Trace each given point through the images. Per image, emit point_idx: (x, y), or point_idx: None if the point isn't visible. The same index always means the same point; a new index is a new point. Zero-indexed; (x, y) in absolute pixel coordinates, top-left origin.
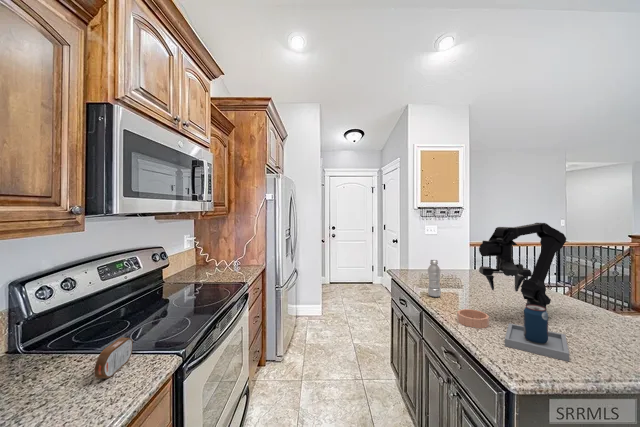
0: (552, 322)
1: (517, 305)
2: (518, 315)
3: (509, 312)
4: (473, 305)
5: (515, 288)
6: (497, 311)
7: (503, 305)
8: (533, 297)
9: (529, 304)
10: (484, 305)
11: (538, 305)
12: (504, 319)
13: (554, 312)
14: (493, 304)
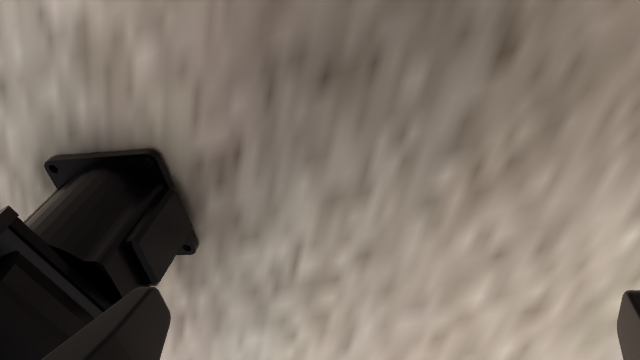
0: (17, 73)
1: (236, 353)
2: (256, 166)
3: (318, 219)
4: (597, 319)
5: (144, 354)
6: (418, 221)
7: (331, 344)
8: (14, 266)
9: (125, 255)
10: (487, 329)
11: (47, 227)
12: (415, 11)
13: None
14: (402, 354)
